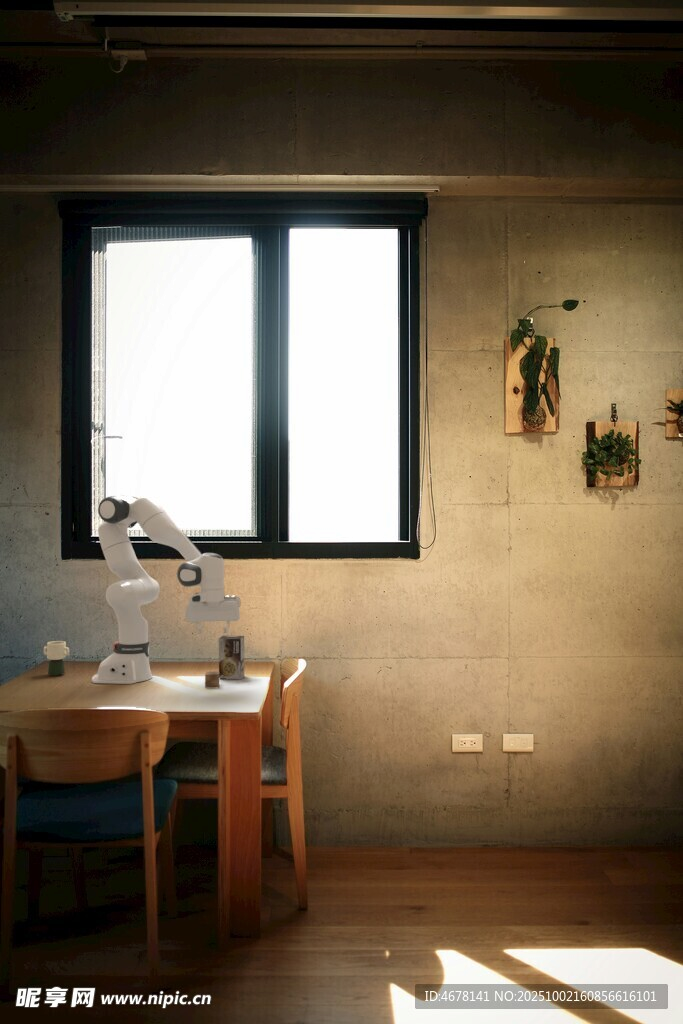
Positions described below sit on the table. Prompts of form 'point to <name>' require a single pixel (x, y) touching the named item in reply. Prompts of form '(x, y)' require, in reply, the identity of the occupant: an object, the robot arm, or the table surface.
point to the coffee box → (231, 657)
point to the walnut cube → (212, 679)
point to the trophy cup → (56, 656)
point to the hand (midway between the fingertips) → (212, 633)
